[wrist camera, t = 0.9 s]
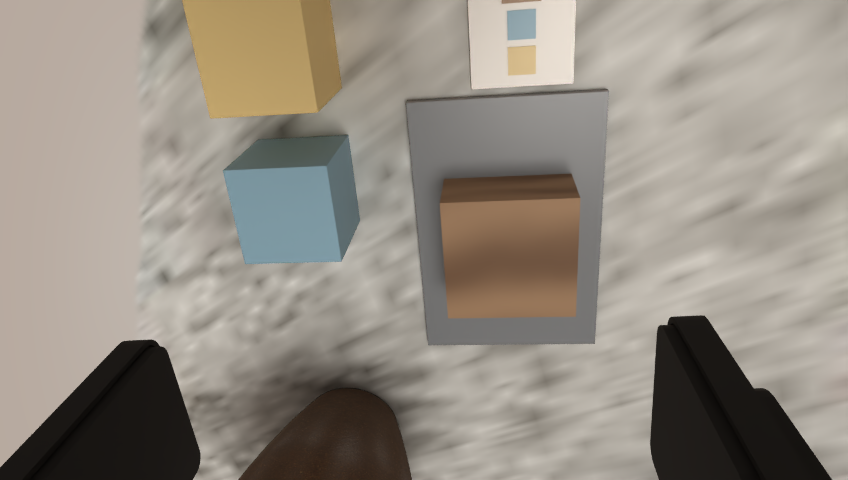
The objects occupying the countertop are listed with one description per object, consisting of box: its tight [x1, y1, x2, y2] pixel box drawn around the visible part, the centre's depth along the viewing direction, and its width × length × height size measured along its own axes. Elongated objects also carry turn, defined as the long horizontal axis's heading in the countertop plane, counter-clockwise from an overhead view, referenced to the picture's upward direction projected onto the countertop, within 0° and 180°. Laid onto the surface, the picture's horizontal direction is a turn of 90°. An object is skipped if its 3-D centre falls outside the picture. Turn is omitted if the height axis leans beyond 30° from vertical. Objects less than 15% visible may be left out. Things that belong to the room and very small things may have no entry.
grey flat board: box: [406, 89, 609, 345], centre depth 40 cm, size 18×12×1 cm, turn 5°
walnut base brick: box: [440, 174, 580, 318], centre depth 38 cm, size 8×8×4 cm
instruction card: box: [468, 0, 576, 89], centre depth 34 cm, size 7×6×1 cm
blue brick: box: [223, 135, 360, 264], centre depth 37 cm, size 6×6×6 cm
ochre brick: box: [182, 0, 342, 118], centre depth 34 cm, size 6×6×6 cm
